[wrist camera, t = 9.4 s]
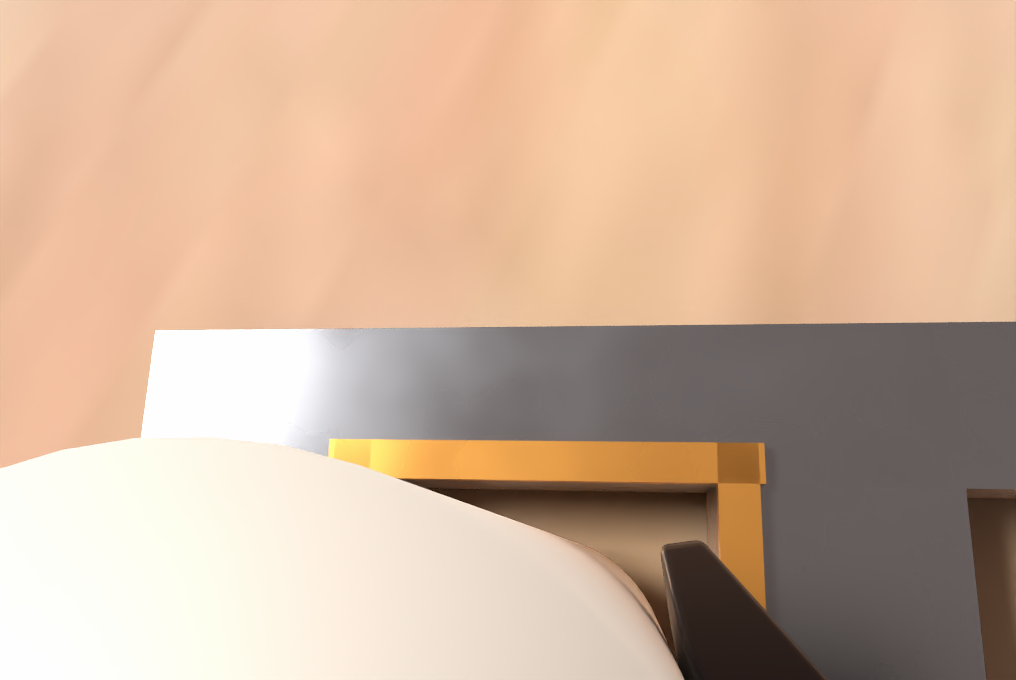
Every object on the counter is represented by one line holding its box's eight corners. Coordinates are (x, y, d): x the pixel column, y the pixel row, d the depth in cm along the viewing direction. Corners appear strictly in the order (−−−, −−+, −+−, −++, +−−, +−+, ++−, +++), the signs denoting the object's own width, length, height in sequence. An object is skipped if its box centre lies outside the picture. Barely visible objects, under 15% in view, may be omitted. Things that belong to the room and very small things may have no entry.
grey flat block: (1550, 345, 15) (1705, 309, 13) (1780, 1142, 12) (2032, 1271, 10) (203, 353, 19) (147, 326, 17) (129, 969, 16) (49, 1036, 14)
